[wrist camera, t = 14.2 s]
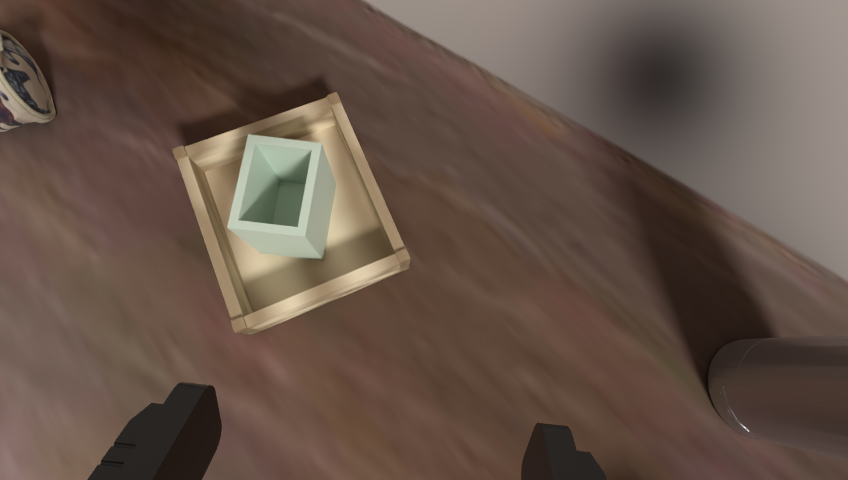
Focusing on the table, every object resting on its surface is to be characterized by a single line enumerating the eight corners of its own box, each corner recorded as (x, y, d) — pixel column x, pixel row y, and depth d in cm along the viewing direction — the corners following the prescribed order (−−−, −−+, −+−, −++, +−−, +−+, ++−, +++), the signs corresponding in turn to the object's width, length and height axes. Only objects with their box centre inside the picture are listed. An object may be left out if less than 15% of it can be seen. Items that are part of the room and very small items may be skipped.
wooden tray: (342, 117, 48) (336, 92, 43) (408, 268, 44) (410, 258, 40) (195, 170, 46) (172, 149, 41) (252, 334, 42) (234, 332, 37)
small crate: (336, 184, 45) (321, 143, 37) (323, 260, 43) (305, 236, 35) (276, 176, 45) (248, 134, 36) (261, 253, 43) (227, 227, 34)
